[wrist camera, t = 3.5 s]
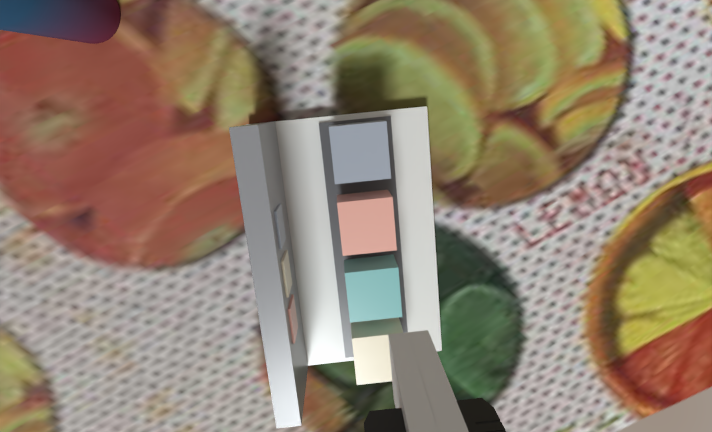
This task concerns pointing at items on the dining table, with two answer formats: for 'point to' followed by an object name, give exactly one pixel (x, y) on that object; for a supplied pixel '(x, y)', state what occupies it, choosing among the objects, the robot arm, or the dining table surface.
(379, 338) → the sand key
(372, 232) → the coral key
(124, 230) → the dining table surface
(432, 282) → the keypad
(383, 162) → the slate key
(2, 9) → the cup
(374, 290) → the teal key
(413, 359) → the robot arm
